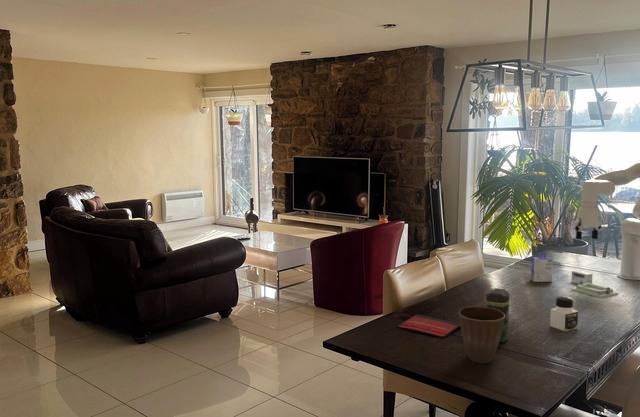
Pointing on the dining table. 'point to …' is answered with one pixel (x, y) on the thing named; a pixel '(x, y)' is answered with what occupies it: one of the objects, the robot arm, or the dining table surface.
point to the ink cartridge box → (541, 268)
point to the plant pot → (481, 332)
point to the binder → (430, 326)
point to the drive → (581, 277)
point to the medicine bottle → (564, 314)
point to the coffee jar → (500, 307)
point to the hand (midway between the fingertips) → (586, 238)
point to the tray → (594, 290)
